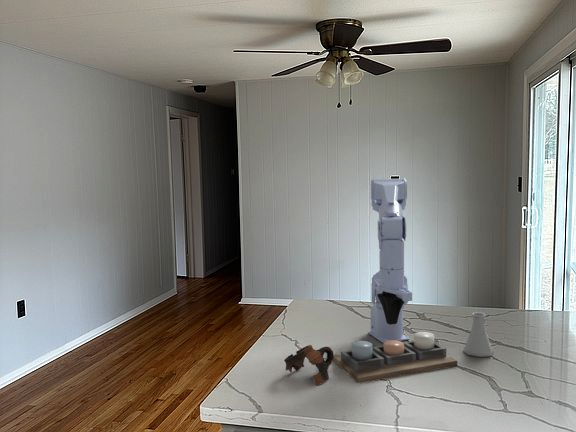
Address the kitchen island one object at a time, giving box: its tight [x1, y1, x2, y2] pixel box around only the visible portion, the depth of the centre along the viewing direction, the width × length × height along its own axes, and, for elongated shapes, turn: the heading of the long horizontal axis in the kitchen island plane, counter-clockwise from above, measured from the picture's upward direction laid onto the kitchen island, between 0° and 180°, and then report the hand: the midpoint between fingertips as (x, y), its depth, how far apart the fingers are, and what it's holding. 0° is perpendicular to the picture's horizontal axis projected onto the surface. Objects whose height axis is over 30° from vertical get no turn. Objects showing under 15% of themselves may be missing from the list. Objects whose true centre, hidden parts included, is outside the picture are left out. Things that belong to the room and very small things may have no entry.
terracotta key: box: [383, 340, 404, 356], centre depth 126 cm, size 5×5×3 cm
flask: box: [462, 311, 494, 358], centre depth 131 cm, size 7×7×10 cm
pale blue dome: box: [351, 340, 373, 361], centre depth 123 cm, size 5×5×3 cm
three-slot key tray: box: [332, 340, 458, 384], centre depth 126 cm, size 14×26×3 cm, turn 109°
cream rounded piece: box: [413, 331, 435, 351], centre depth 128 cm, size 5×5×3 cm
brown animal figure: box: [283, 344, 334, 387], centre depth 120 cm, size 12×10×8 cm
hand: (391, 323), depth 125 cm, fingers closed
